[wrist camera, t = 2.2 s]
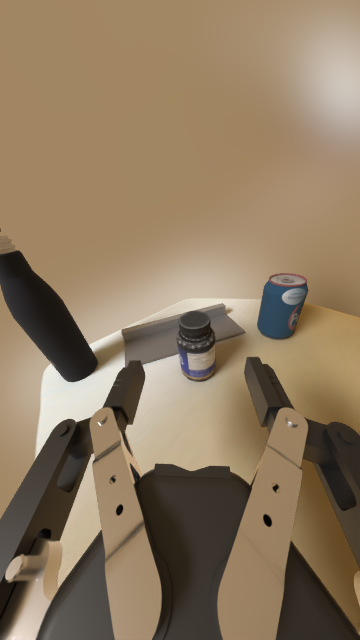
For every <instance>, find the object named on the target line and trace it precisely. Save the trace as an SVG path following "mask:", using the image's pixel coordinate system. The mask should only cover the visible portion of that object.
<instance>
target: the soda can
mask: <svg viewBox="0 0 360 640" xmlns="http://www.w3.org/2000/svg"><path fill="white" fill-rule="evenodd" d="M306 282H307V279H306V278H305V277H303V276H300V275H296V274H288V273H287V274H286V273H284V274H283V273H282V274H275V275H272V276H271V277H270V278H269V281H268V282H267V283H266V284H265V286H264V291H263V296H262V301H261V307H260V312H259V317H258V323H257V326H258V329H259V331H260V332H261V334H262V335H264V336H265V337H267V338H270V339H274V340H282V339H285V338H287V337H289V336H291V335H292V334H293V333H294V330H295V327H296V324H297V322H298V319H299V316H300V313H301V310H302V307H303V304H304V301H305V298H306V295H307V293H308V287H307V284H306Z"/></svg>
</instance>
